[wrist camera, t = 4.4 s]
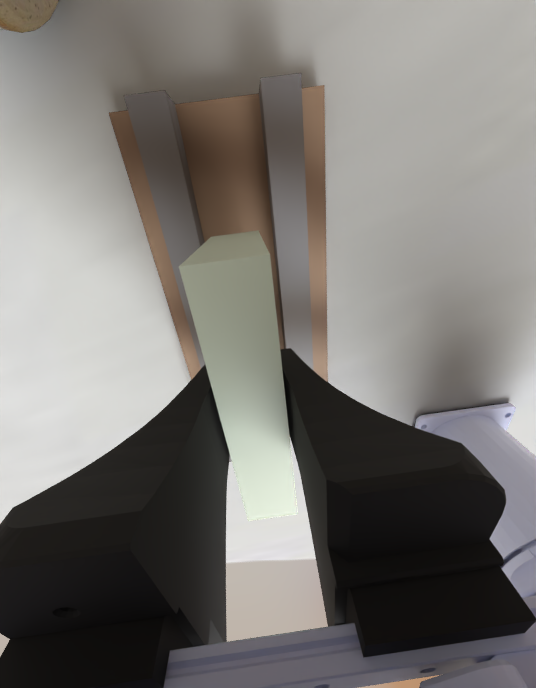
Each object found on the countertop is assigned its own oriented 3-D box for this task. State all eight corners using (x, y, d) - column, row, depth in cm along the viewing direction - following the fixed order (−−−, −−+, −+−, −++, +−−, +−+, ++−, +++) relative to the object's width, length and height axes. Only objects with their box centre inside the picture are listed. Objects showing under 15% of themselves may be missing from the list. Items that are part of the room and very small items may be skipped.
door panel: (280, 410, 16) (297, 514, 10) (247, 414, 16) (248, 521, 10) (258, 230, 11) (269, 254, 6) (211, 236, 11) (179, 266, 6)
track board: (324, 421, 21) (333, 447, 19) (213, 437, 21) (210, 464, 19) (318, 94, 12) (335, 68, 10) (118, 119, 12) (89, 99, 10)
